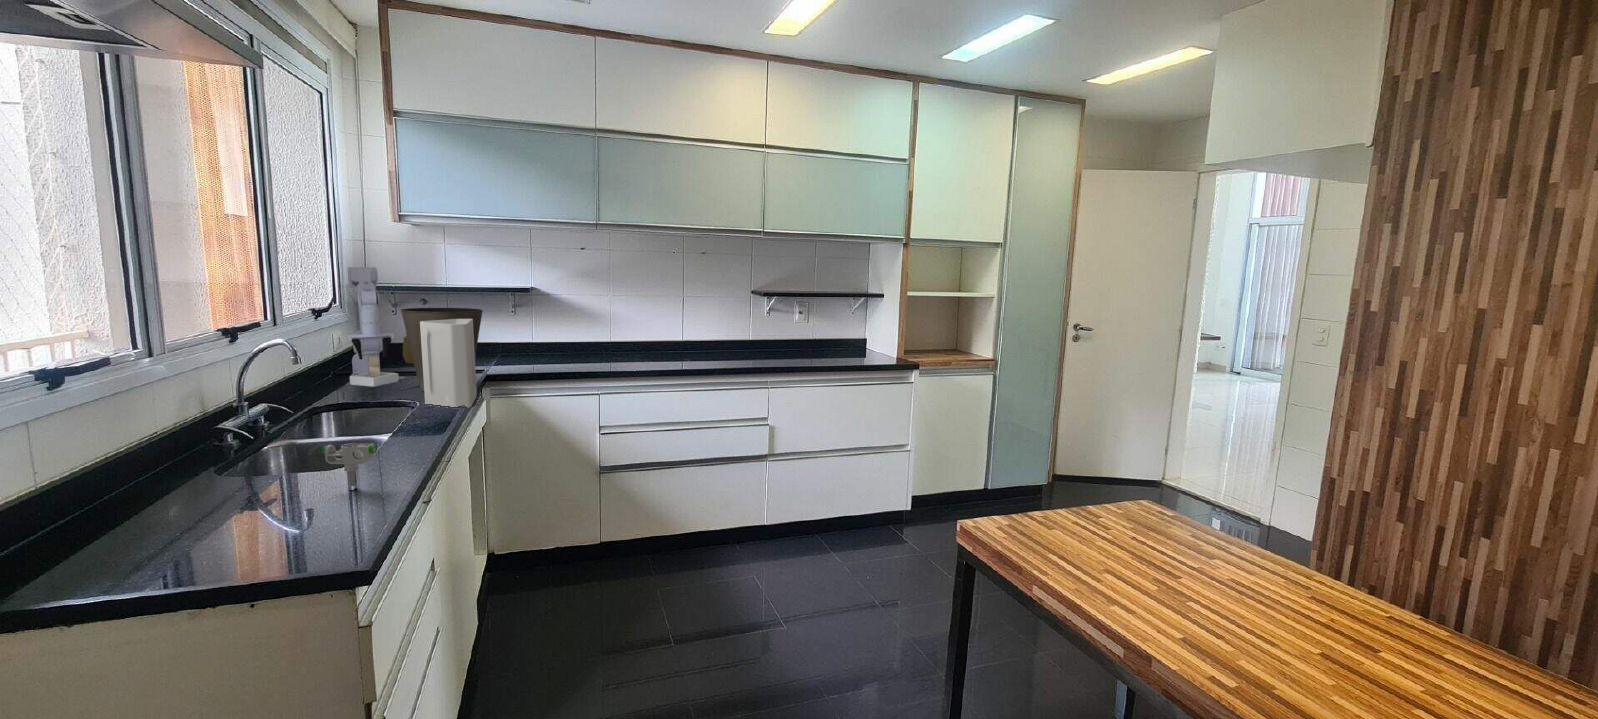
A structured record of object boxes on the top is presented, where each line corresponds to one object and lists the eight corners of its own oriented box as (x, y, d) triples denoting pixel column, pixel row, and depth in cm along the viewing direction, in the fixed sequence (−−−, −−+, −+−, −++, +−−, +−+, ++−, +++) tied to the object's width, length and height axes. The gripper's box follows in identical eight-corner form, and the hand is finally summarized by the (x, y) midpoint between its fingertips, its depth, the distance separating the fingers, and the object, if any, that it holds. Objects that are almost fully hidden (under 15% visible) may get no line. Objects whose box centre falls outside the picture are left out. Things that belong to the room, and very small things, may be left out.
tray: (350, 386, 245) (349, 376, 244) (375, 381, 255) (375, 371, 255) (374, 388, 242) (373, 378, 241) (398, 383, 253) (398, 373, 252)
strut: (367, 382, 249) (365, 356, 247) (380, 381, 252) (378, 355, 250) (368, 384, 245) (366, 357, 244) (382, 382, 248) (380, 356, 247)
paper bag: (430, 397, 230) (425, 319, 226) (477, 395, 235) (473, 318, 231) (420, 410, 212) (414, 324, 208) (470, 407, 217) (466, 324, 213)
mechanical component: (332, 487, 142) (328, 443, 141) (381, 487, 143) (378, 443, 142) (323, 492, 139) (319, 447, 138) (374, 491, 140) (370, 447, 139)
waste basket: (488, 382, 260) (485, 307, 255) (484, 392, 241) (480, 311, 237) (411, 385, 250) (406, 307, 246) (400, 396, 232) (394, 311, 227)
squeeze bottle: (427, 362, 301) (425, 323, 298) (412, 364, 294) (409, 325, 291) (414, 360, 304) (412, 322, 301) (398, 363, 296) (396, 324, 293)
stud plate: (376, 380, 256) (376, 373, 256) (394, 377, 264) (393, 370, 264) (393, 382, 254) (393, 375, 254) (410, 378, 262) (409, 371, 262)
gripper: (348, 324, 237) (351, 361, 239) (394, 322, 247) (397, 358, 249) (345, 322, 243) (348, 358, 245) (391, 321, 252) (393, 355, 254)
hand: (372, 358), depth 247 cm, fingers open, 7 cm apart
